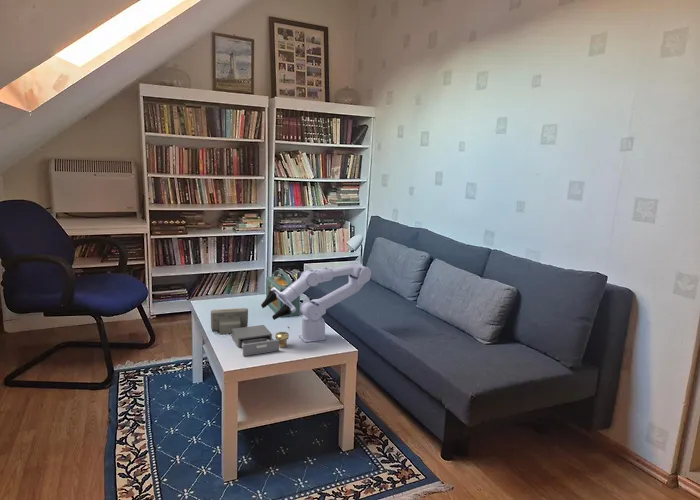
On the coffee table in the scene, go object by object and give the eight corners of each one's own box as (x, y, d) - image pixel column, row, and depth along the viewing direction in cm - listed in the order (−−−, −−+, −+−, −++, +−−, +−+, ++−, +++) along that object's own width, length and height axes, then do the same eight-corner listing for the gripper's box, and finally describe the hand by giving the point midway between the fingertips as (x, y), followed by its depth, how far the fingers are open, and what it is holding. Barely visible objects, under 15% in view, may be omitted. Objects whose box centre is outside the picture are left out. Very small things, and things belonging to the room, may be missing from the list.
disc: (286, 334, 197) (286, 331, 197) (290, 339, 193) (290, 335, 192) (273, 336, 195) (273, 332, 195) (277, 341, 190) (277, 337, 190)
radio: (265, 303, 251) (265, 267, 247) (284, 301, 256) (284, 265, 252) (279, 318, 228) (279, 278, 225) (300, 316, 233) (301, 276, 229)
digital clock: (249, 327, 215) (249, 305, 213) (246, 334, 206) (246, 311, 204) (212, 327, 213) (212, 304, 211) (208, 334, 204) (208, 311, 202)
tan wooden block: (284, 344, 196) (284, 336, 196) (286, 346, 194) (286, 338, 193) (277, 345, 195) (277, 337, 194) (279, 347, 192) (279, 339, 192)
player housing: (263, 333, 208) (263, 324, 207) (271, 343, 197) (271, 334, 196) (231, 337, 201) (231, 328, 201) (238, 347, 191) (238, 338, 190)
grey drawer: (270, 340, 200) (270, 330, 199) (279, 350, 189) (279, 340, 188) (236, 344, 193) (236, 334, 192) (243, 356, 182) (243, 345, 182)
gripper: (280, 276, 196) (254, 296, 191) (302, 297, 189) (275, 318, 184) (284, 285, 201) (259, 305, 197) (305, 305, 194) (279, 327, 190)
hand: (267, 312), depth 191 cm, fingers open, 7 cm apart
